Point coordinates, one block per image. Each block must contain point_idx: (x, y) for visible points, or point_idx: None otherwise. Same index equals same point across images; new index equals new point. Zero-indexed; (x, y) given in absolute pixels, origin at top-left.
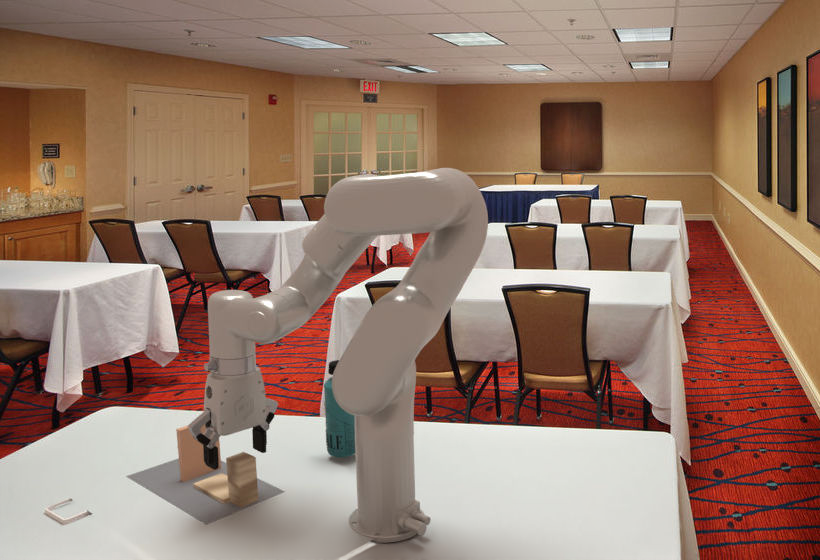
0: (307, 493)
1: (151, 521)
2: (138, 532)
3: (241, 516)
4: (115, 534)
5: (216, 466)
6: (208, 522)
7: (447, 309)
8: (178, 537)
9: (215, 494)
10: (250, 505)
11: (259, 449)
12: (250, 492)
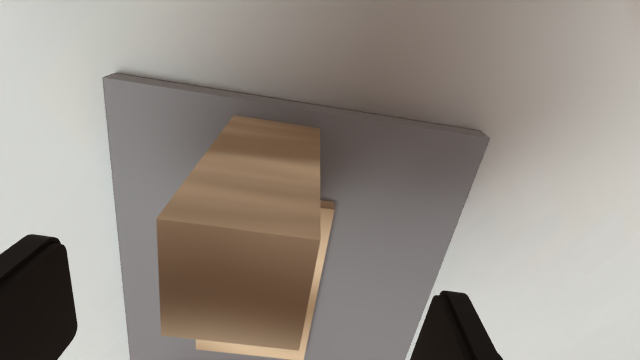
0: (19, 8)
1: (498, 302)
2: (567, 284)
3: (338, 101)
4: (595, 319)
5: (464, 304)
6: (474, 142)
7: None
8: (558, 171)
9: (317, 262)
10: (285, 108)
11: (58, 282)
12: (262, 137)
